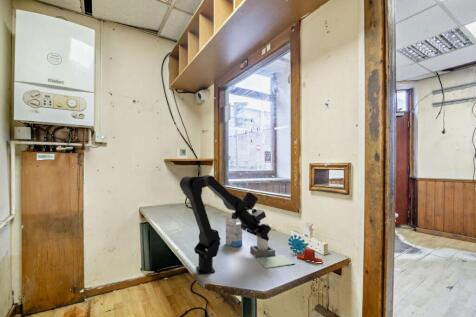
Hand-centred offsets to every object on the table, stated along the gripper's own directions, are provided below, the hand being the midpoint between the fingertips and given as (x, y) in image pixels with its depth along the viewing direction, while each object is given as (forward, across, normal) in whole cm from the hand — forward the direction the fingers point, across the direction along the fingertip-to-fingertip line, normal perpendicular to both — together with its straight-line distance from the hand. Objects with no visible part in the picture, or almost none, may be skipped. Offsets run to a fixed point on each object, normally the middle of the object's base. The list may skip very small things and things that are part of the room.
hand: (264, 238), depth 115 cm
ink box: (0, +18, +10) cm, 21 cm away
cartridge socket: (+4, 0, +6) cm, 7 cm away
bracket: (+15, -16, -4) cm, 22 cm away
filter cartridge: (+4, 0, +6) cm, 7 cm away
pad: (+3, -11, +7) cm, 13 cm away
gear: (+16, -6, -6) cm, 19 cm away
